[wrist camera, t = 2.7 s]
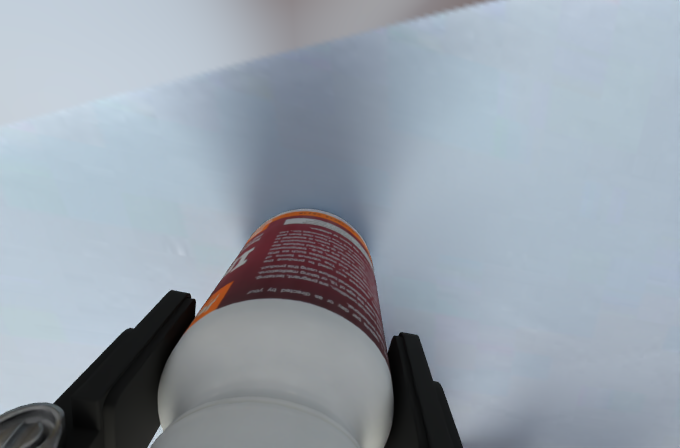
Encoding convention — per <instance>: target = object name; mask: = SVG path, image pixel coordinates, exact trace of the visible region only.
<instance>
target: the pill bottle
mask: <svg viewBox="0 0 680 448" xmlns="http://www.w3.org/2000/svg"><path fill="white" fill-rule="evenodd" d="M158 414H159V419H160V424H161V426H162V429H163V433H162V434H161V435H159V437H158V438H157V439H156V440H155V442H154V443H153V444H152V446H151V448H384V446H385V444H386V442H387V439H388V437H389V434H390V430H391V427H392V422H393V414H394V394H393V386H392V377H391V370H390V366H389V360H388V354H387V348H386V342H385V336H384V330H383V324H382V318H381V311H380V305H379V299H378V293H377V286H376V280H375V275H374V269H373V263H372V260H371V256H370V253H369V250H368V247H367V245H366V243H365V241H364V240H363V238H362V237H361V235H360V234H359V233H358V232H357V231H356V229H354V228H353V227H352V226H351V225H350V224H349V223H348V222H346V221H345V220H343V219H342V218H340V217H338V216H336V215H334V214H331V213H328V212H325V211H321V210H316V209H295V210H290V211H286V212H283V213H280V214H278V215H276V216H274V217H272V218H270V219H269V220H267V221H266V222H264V223H263V224H262V225H261V226H260V227H259V228H258V229H257V230H256V231H255V232H254V233H253V235H252V236H251V237H250V239H249V240H248V242H247V243H246V245H245V246H244V247H243V249H242V250H241V252H240V253H239V255H238V256H237V258H236V259H235V261H234V262H233V263H232V265H231V266H230V268H229V269H228V270H227V272H226V274H225V275H224V276H223V278H222V280H221V281H220V282H219V284H218V285H217V287H216V288H215V290H214V291H213V292H212V294H211V295H210V297H209V298H208V300H207V301H206V303H205V304H204V305H203V307H202V308H201V310H200V311H199V313H198V314H197V316H196V317H195V318H194V320H193V321H192V323H191V324H190V326H189V327H188V328H187V330H186V331H185V333H184V334H183V335H182V337H181V338H180V340H179V342H178V343H177V345H176V346H175V348H174V349H173V351H172V352H171V354H170V356H169V358H168V359H167V362H166V364H165V366H164V369H163V372H162V374H161V378H160V382H159V387H158Z"/></svg>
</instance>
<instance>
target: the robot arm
mask: <svg viewBox="0 0 680 448" xmlns="http://www.w3.org/2000/svg"><path fill="white" fill-rule="evenodd" d="M195 307H196V300H195V299H191V295H190V294H189V293H185V292H179V291H174V290H171V291H169V292H168V293H167V294H166V295H165V296H164V297H163V298H162V299H161V300H160V302H159V303H158V304H157V305H156V306H155V307H154V308H153V309H152V310H151V311H150V312H149V313H148V314H147V315H146V316H145V318H144V319H143V320H142V321H141V322H140V323H139V324H138V325H137V326H136V327H135V328H134V329H133V328H129V329H126V330H125V331H124V332H123V333H122V334H121V335H120V336H119V337H118V338H117V339H116V340H115V341H114V342H113V343H112V344H111V345H110V346H109V347H108V348H107V349H106V350H105V351H104V352H103V353H102V354H101V355H100V356H99V357H98V358H97V359H96V360H95V361H94V362H93V363H92V364H91V365H90V366H89V367H88V368H87V369H86V371H85V372H84V373H83V374H82V375H81V376H80V377H79V378H78V379H77V380H76V381H75V382H74V383H73V384H72V385H71V386H70V387H69V388H68V389H67V390H66V391H65V392H64V393H63V394H62V395H61V396H60V397H59V398H58V399H57V400H56V401H55V402H54V403H53V404H51V403H32V404H28V405H24V406H20V407H17V408H15V409H12V410H10V411H7V412H5V413H4V414H2V415H0V448H147V447H148V445H149V444H150V442H151V440H152V438H153V437H154V435H155V433H156V431H157V430H158V428H159V426H160V419H159V414H158V387H159V382H160V378H161V374H162V372H163V369H164V366H165V364H166V362H167V359H168V358H169V356H170V354H171V352H172V351H173V349H174V348H175V346H176V345H177V343H178V342H179V340H180V338H181V337H182V335H183V334H184V333H185V331H186V330H187V328H188V327H189V326H190V324H191V323H192V321H193V320H194V318H195ZM387 354H388V360H389V366H390V370H391V377H392V386H393V394H394V414H393V422H392V427H391V430H390V434H389V437H388V439H387V442H386V444H385V446H384V448H463V446H462V443H461V440H460V437H459V434H458V431H457V429H456V426H455V423H454V420H453V417H452V414H451V411H450V408H449V405H448V403H447V400H446V397H445V394H444V391H443V388H442V386H441V384H440V383H439V382H435V381H433V379H432V376H431V373H430V370H429V367H428V363H427V360H426V357H425V354H424V351H423V348H422V345H421V342H420V339H419V336H418V335H414V334H409V333H403V332H401V333H400V334H399V335H398V336H393V338H392V341H391V344H390V347H389V350H388V353H387Z"/></svg>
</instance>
